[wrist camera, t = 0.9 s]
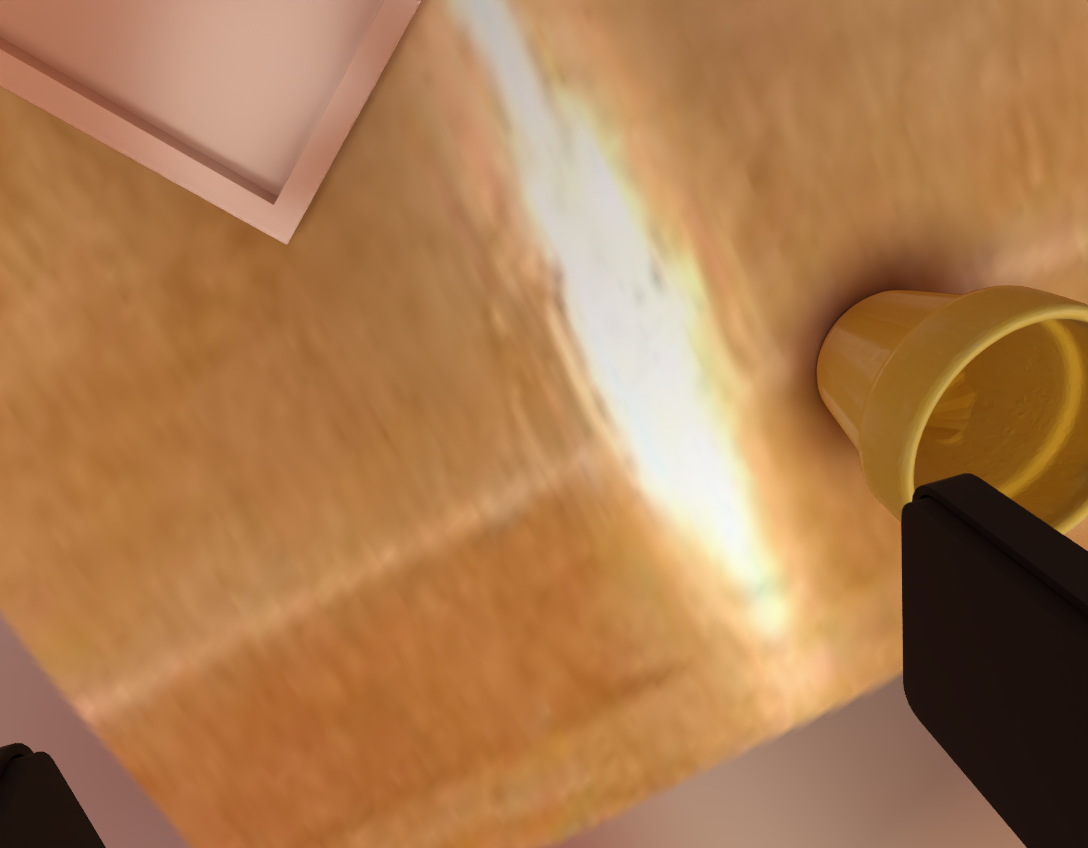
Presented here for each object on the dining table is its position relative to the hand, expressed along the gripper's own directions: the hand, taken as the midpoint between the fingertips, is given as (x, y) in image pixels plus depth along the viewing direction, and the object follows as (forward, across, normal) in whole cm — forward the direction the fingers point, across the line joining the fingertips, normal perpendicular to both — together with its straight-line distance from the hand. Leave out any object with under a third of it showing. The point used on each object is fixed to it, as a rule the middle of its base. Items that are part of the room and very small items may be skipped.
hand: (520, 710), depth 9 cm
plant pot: (+27, -20, +11) cm, 36 cm away
